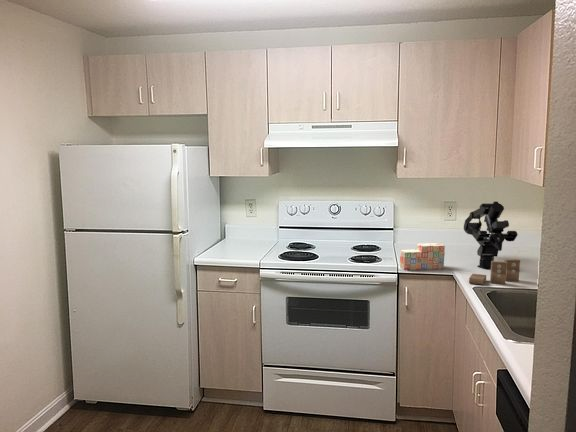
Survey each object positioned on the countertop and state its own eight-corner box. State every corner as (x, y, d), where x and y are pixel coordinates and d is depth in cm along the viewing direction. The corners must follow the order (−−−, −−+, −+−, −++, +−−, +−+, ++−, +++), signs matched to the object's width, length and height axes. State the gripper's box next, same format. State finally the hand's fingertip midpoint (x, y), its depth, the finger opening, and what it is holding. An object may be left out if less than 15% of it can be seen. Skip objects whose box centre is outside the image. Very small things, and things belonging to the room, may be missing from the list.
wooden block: (472, 273, 227) (469, 277, 219) (486, 275, 224) (483, 279, 216) (472, 279, 228) (469, 283, 219) (485, 280, 225) (483, 285, 216)
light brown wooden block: (490, 282, 222) (491, 260, 220) (504, 282, 220) (505, 261, 219) (491, 283, 219) (492, 262, 218) (505, 284, 218) (506, 262, 216)
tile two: (503, 280, 225) (504, 259, 224) (515, 279, 225) (517, 259, 224) (506, 281, 222) (507, 260, 221) (518, 281, 223) (520, 260, 221)
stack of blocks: (404, 270, 244) (404, 246, 242) (399, 267, 250) (400, 244, 249) (443, 268, 247) (445, 245, 245) (438, 265, 253) (439, 243, 251)
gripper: (478, 214, 235) (486, 241, 225) (517, 214, 234) (526, 241, 225) (472, 227, 244) (479, 253, 234) (509, 227, 243) (517, 253, 234)
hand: (500, 250), depth 232 cm, fingers closed
